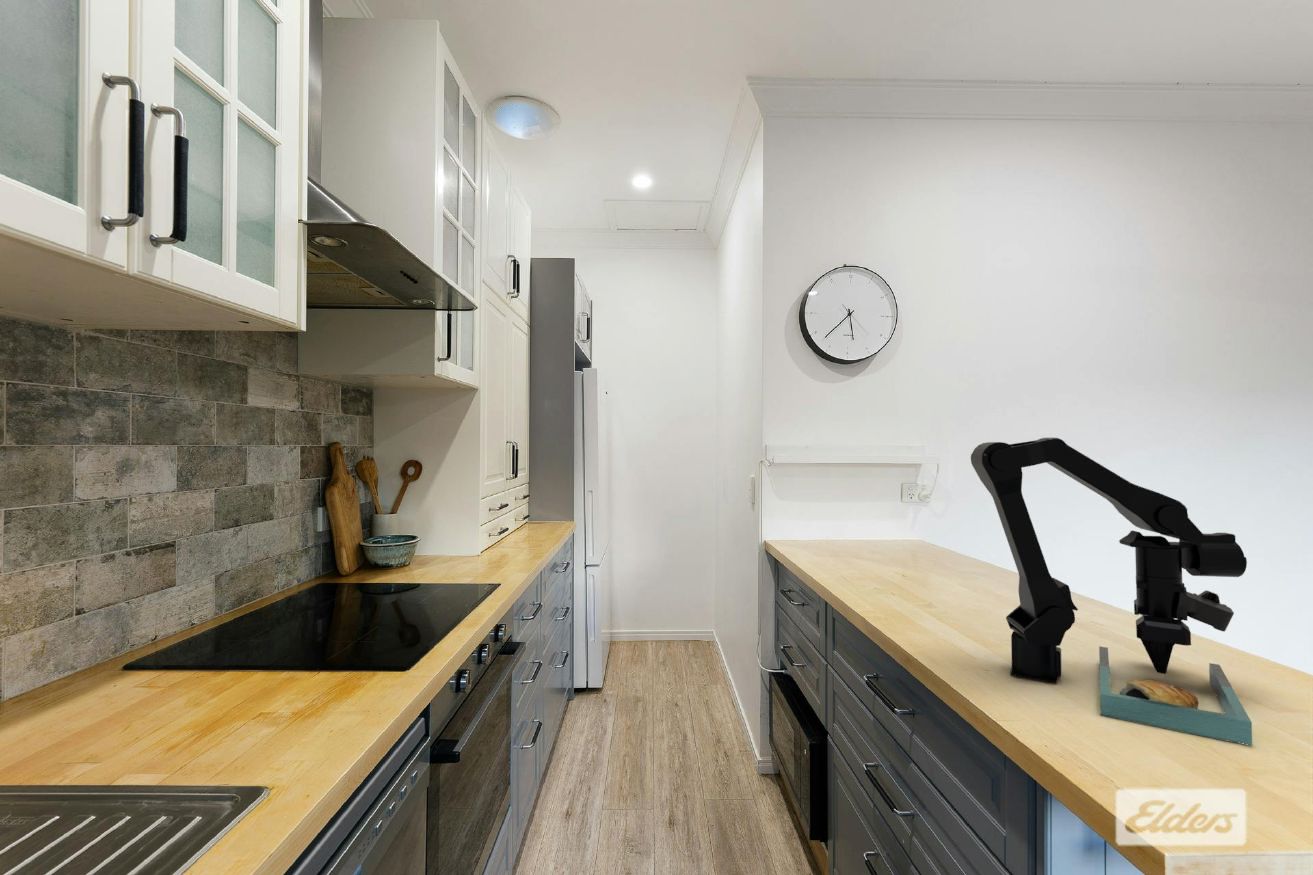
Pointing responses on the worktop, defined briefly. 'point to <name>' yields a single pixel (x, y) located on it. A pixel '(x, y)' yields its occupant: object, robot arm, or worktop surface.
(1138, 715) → the rail pocket
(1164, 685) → the pastry
